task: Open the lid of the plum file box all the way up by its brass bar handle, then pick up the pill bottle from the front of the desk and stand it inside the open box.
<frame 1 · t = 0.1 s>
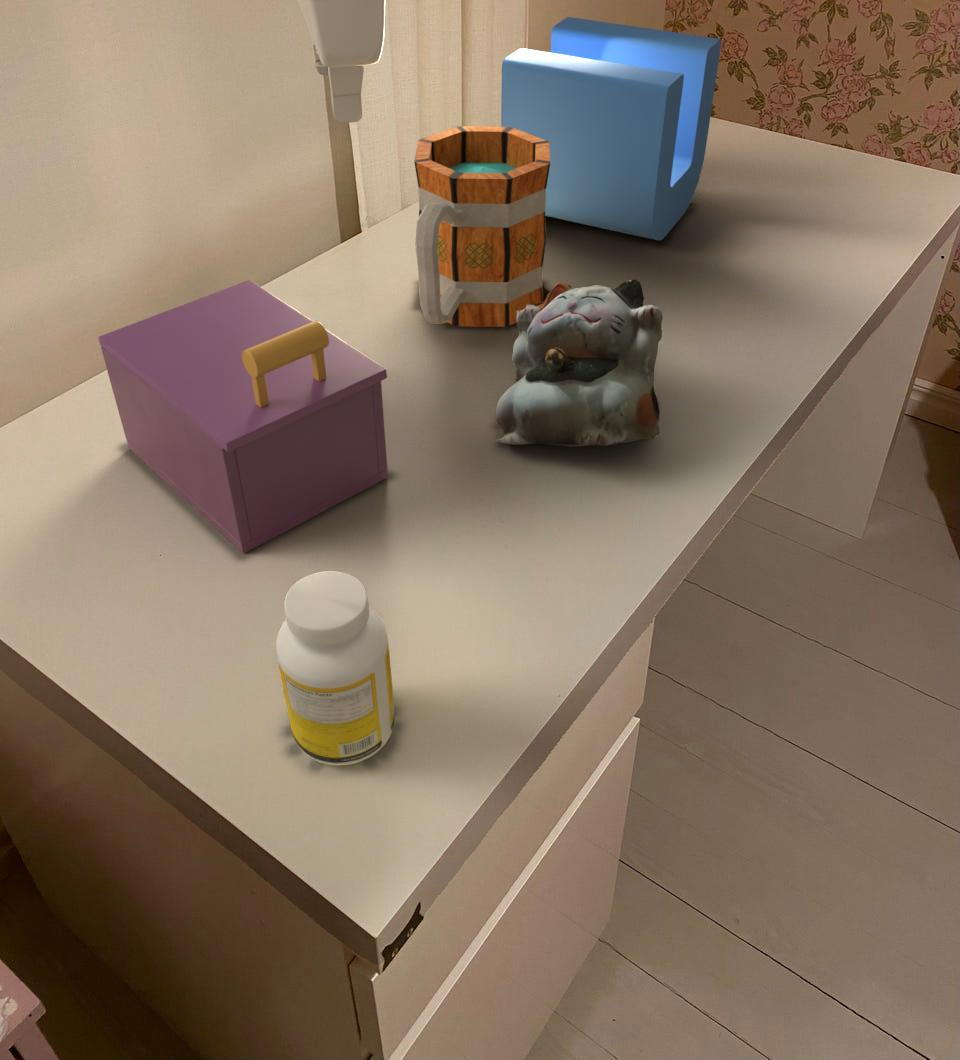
hand: (337, 94, 71), 28 cm above the table, tool pointing down, fingers open, 8 cm apart
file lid: (235, 331, 78), point 13 cm above the table, hinge at 0.0°
wooden beer tankard: (470, 310, 106), on the table
file box: (256, 462, 86), on the table
lucky cat figurine: (571, 428, 90), on the table
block: (601, 211, 123), on the table
pill bottle: (344, 730, 66), on the table
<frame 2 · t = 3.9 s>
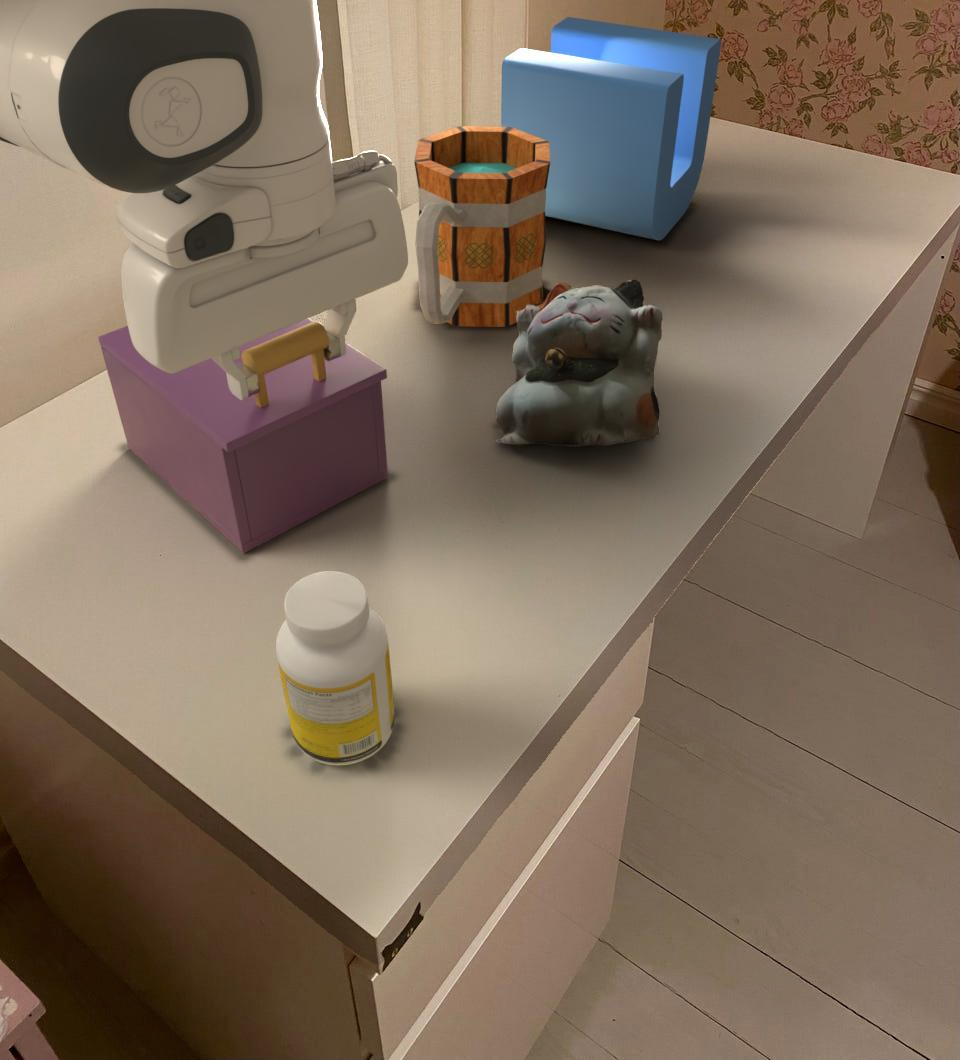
hand: (289, 374, 74), 12 cm above the table, tool pointing down, fingers closed on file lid, 6 cm apart
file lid: (235, 331, 78), point 13 cm above the table, hinge at -0.1°, touching gripper
everything else where it was.
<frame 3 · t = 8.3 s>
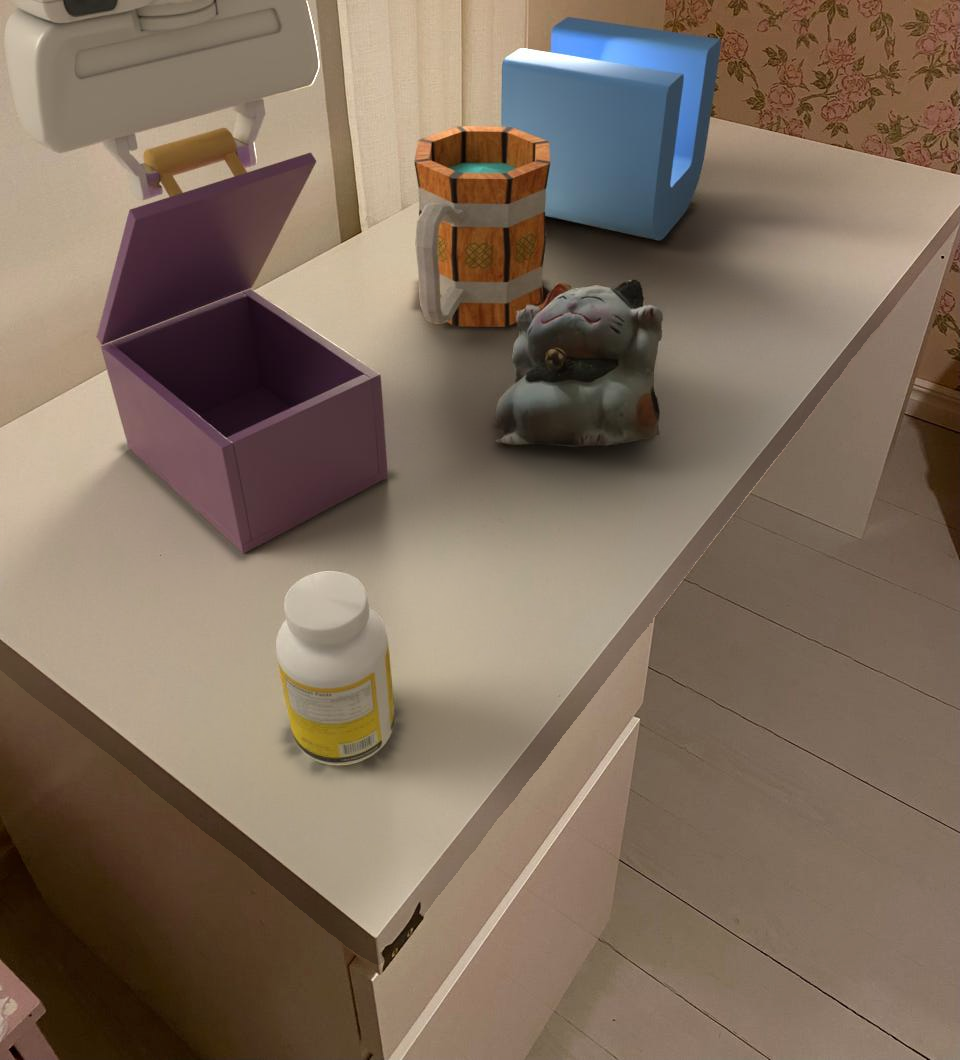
hand: (195, 180, 72), 24 cm above the table, tool pointing down, fingers closed on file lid, 6 cm apart
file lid: (184, 228, 77), point 19 cm above the table, hinge at 50.6°, touching gripper
everything else where it was.
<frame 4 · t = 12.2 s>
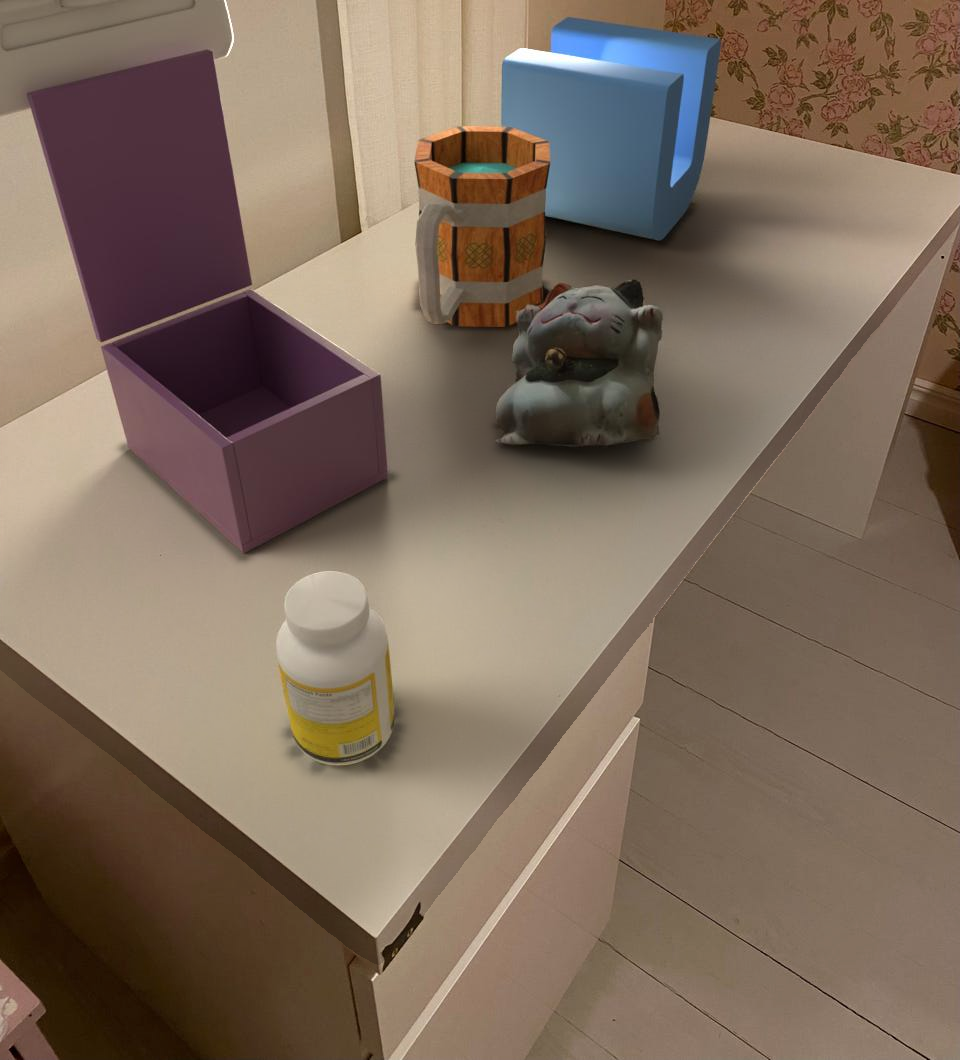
hand: (121, 145, 78), 23 cm above the table, tool pointing down, fingers closed on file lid, 4 cm apart
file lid: (138, 191, 80), point 20 cm above the table, hinge at 91.3°, touching gripper
everything else where it was.
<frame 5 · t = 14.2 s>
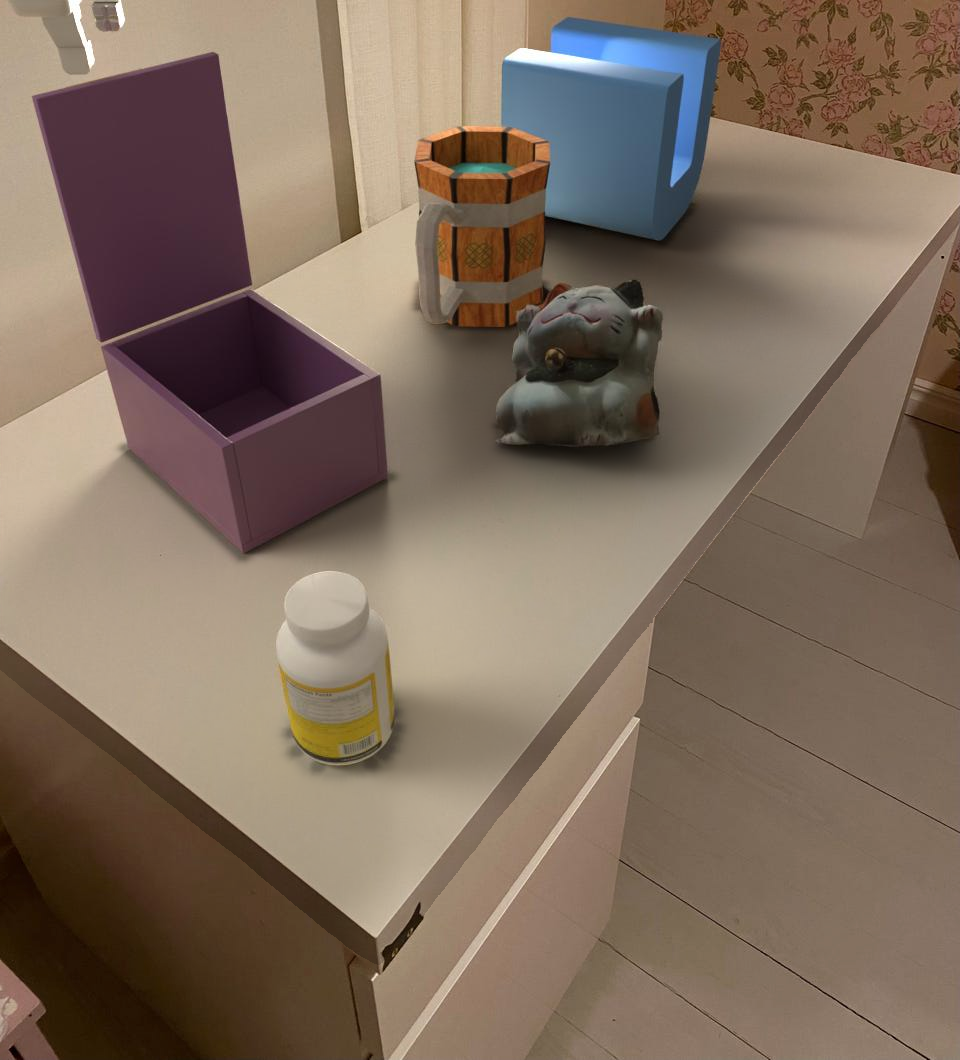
hand: (96, 49, 74), 30 cm above the table, tool pointing down, fingers open, 8 cm apart
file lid: (140, 192, 80), point 20 cm above the table, hinge at 88.8°
everything else where it was.
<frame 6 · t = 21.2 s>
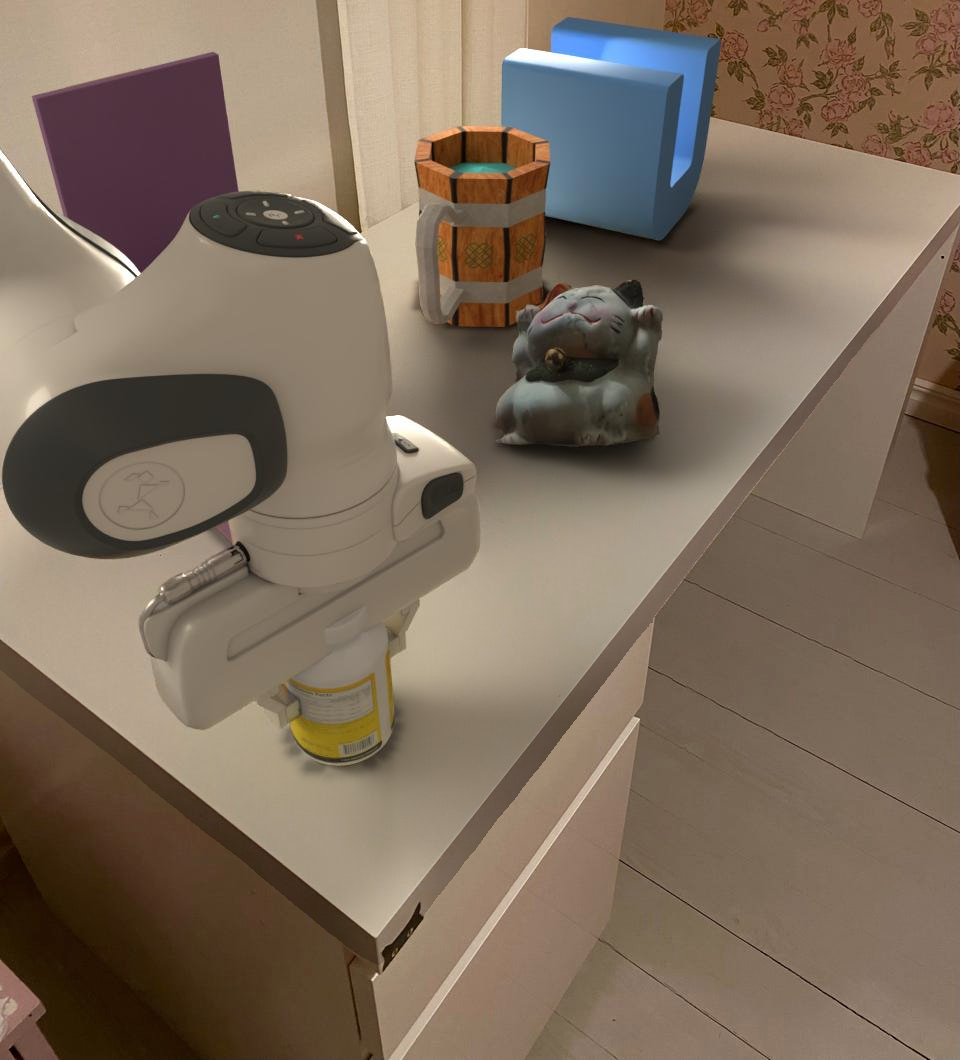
hand: (338, 681, 63), 5 cm above the table, tool pointing down, fingers closed on pill bottle, 6 cm apart
pill bottle: (344, 730, 66), on the table, touching gripper
everything else where it was.
when the fingers open (6 cm above the table, at t = 31.1 s): pill bottle stays where it is, resting on file box.
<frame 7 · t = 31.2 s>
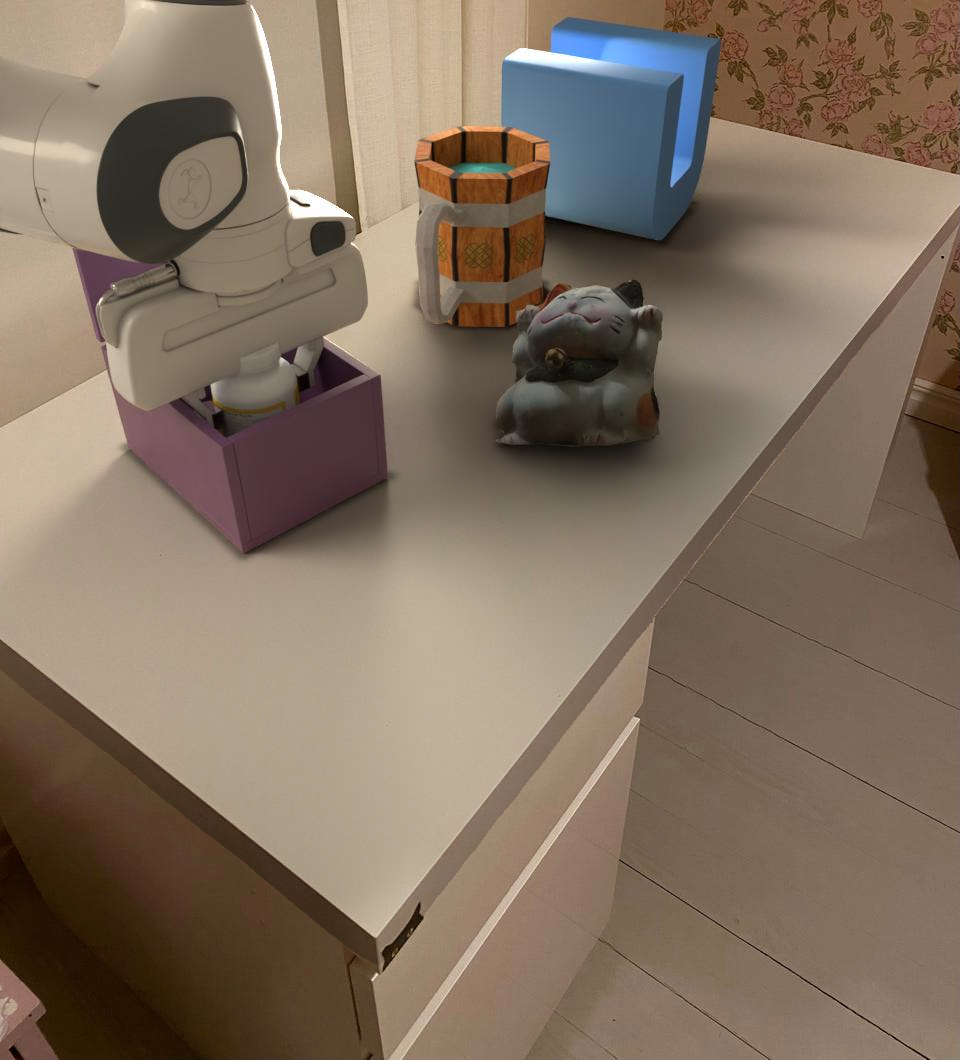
hand: (257, 407, 81), 7 cm above the table, tool pointing down, fingers open, 7 cm apart
pill bottle: (268, 467, 85), point 1 cm above the table, touching file box
everything else where it was.
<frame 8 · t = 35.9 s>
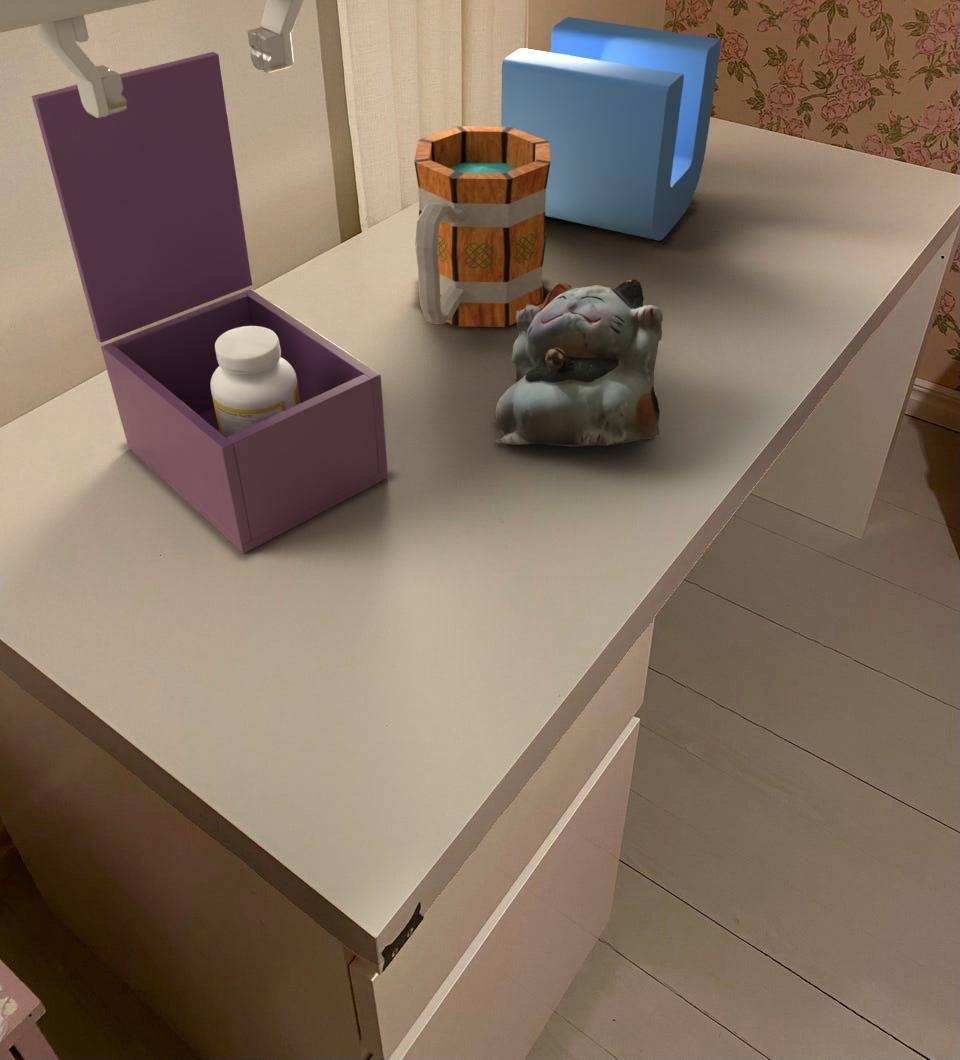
hand: (193, 89, 52), 35 cm above the table, tool pointing down, fingers open, 8 cm apart
nothing on the table moved.
at the end: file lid at +89° (first picture: +0°); pill bottle inside the target area in the file box (2.1 cm from its centre), point 0.7 cm above the file box's base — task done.
